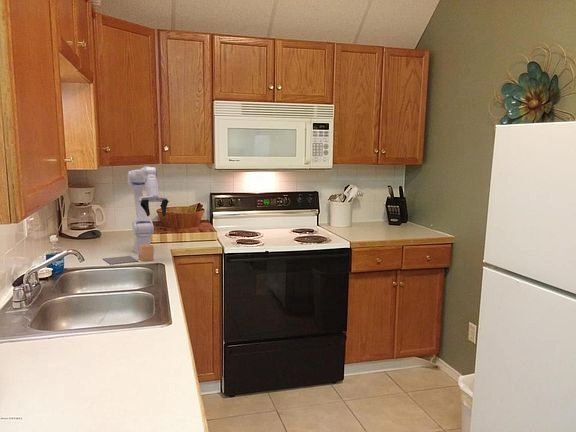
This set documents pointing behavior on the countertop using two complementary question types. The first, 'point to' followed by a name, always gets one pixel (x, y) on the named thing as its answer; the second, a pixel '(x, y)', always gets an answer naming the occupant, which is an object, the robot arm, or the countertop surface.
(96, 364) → the countertop surface
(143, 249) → the orange brown block
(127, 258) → the mat
